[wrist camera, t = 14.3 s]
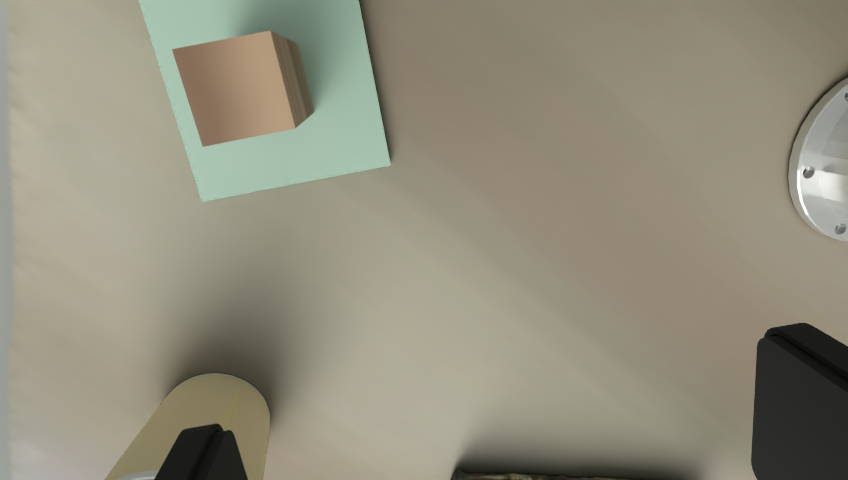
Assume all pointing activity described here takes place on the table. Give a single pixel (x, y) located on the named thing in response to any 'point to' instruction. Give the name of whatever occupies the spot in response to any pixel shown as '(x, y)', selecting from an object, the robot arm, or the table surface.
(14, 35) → the table surface
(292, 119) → the walnut peg
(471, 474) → the network switch
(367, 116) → the green pad
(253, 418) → the coffee cup
